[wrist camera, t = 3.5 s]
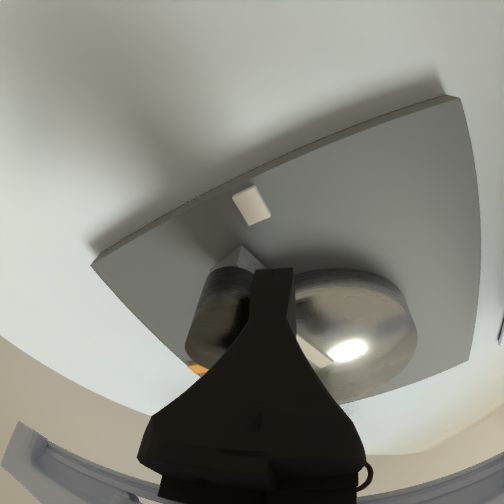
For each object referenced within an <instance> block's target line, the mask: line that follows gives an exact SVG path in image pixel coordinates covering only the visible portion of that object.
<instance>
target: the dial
mask: <svg viewBox="0 0 504 504" xmlns="http://www.w3.org/2000/svg"><path fill="white" fill-rule="evenodd" d="M257 269H267V268H266V267H265V266H264V265H263V264H262V263H261V262H260V261H259V260H258V259H256V258H255V257H254V256H253V255H252V254H251V253H250V252H249V251H248V250H247V249H245V248H244V247H243V246H242V245H241V246H239V247H238V248H237V249H235V250H234V251H233V252H232V253H230V254H229V255H228V256H226V257H225V258H224V259H223V260H221V261H220V262H219V263H217V264H216V265H215V266H214V267H212V268H211V269H210V271H209V274H208V276H207V278H206V281H205V284H204V287H203V290H202V293H201V296H200V299H199V302H198V305H197V308H196V311H195V314H194V317H193V320H192V323H191V326H190V329H189V332H188V336H187V339H186V342H185V351H186V353H187V355H188V356H189V357H190V358H191V359H192V360H193V361H194V362H195V363H197V364H198V365H200V366H202V367H204V368H206V369H210V368H211V367H212V366H213V365H214V364H215V363H216V362H217V361H218V359H219V358H220V357H221V356H222V355H223V354H224V353H225V352H226V350H227V349H228V348H229V347H230V345H231V344H232V343H233V342H234V340H235V339H236V338H237V336H238V335H239V334H240V332H241V331H242V329H243V328H244V326H245V325H246V323H247V322H248V320H249V307H250V294H251V283H252V279H253V276H254V273H255V270H257ZM294 285H295V298H296V322H297V335H296V340H297V342H298V343H299V345H300V347H301V349H302V351H303V353H304V355H305V356H306V358H307V360H308V362H309V363H310V365H311V366H312V368H313V370H314V371H315V373H316V374H317V376H318V377H319V379H320V380H321V382H322V383H323V385H324V386H325V388H326V389H327V390H328V392H329V393H330V394H331V396H332V397H333V398H334V400H335V401H340V400H345V399H349V398H353V397H356V396H359V395H362V394H365V393H368V392H370V391H372V390H374V389H376V388H378V387H380V386H382V385H384V384H385V383H387V382H388V381H390V380H391V379H393V378H394V377H395V376H396V375H398V374H399V373H400V372H401V371H402V370H403V369H404V368H405V367H406V365H407V364H408V363H409V362H410V360H411V358H412V357H413V355H414V353H415V350H416V347H417V342H418V334H417V329H416V326H415V323H414V321H413V318H412V315H411V313H410V310H409V308H408V305H407V303H406V300H405V299H404V297H403V295H402V293H401V292H400V291H399V290H398V289H397V288H396V287H395V286H394V285H393V284H392V283H390V282H389V281H387V280H386V279H384V278H382V277H380V276H377V275H375V274H372V273H369V272H365V271H361V270H354V269H334V268H333V269H322V270H316V271H310V272H305V273H302V274H299V275H295V276H294Z"/></svg>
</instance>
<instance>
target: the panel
mask: <svg viewBox="0 0 504 504" xmlns="http://www.w3.org/2000/svg"><path fill="white" fill-rule="evenodd" d="M241 245H242V246H243V247H244V248H245V249H247V250H248V251H249V252H250V253H251V254H252V255H253V256H254V257H255V258H256V259H258V260H259V261H260V262H261V263H262V264H263V265H264V266H265V267H266V268H267V269H274V270H275V269H276V268H291V267H293V272H294V276H295V275H299V274H302V273H305V272H310V271H316V270H322V269H333V268H334V269H354V270H361V271H365V272H369V273H372V274H375V275H377V276H380V277H382V278H384V279H386V280H387V281H389V282H390V283H392V284H393V285H394V286H395V287H396V288H397V289H398V290H399V291H400V292H401V293H402V295H403V297H404V299H405V300H406V303H407V305H408V308H409V310H410V313H411V315H412V318H413V321H414V323H415V326H416V329H417V334H418V342H417V347H416V350H415V353H414V355H413V357H412V358H411V360H410V362H409V363H408V364H407V365H406V367H405V368H404V369H403V370H402V371H401V372H400V373H399V374H398V375H396V376H395V377H394V378H393V379H391V380H390V381H388V382H387V383H385V384H384V385H382V386H380V387H378V388H376V389H374V390H372V391H370V392H368V393H365V394H362V395H359V396H356V397H353V398H349V399H345V400H340V401H336V402H337V404H338V405H341V404H345V403H349V402H353V401H357V400H361V399H364V398H368V397H372V396H375V395H378V394H382V393H385V392H388V391H391V390H394V389H398V388H401V387H403V386H406V385H409V384H412V383H415V382H418V381H420V380H423V379H426V378H428V377H431V376H433V375H436V374H438V373H441V372H443V371H445V370H448V369H450V368H452V367H455V366H457V365H459V364H461V363H463V362H466V361H468V360H469V355H470V350H471V345H472V340H473V334H474V328H475V321H476V313H477V305H478V295H479V283H480V263H481V227H480V208H479V195H478V186H477V177H476V170H475V163H474V157H473V151H472V146H471V141H470V136H469V131H468V127H467V122H466V118H465V114H464V110H463V107H462V103H461V99H460V98H457V97H453V96H449V95H444V96H441V97H437V98H434V99H431V100H427V101H424V102H421V103H418V104H415V105H412V106H409V107H406V108H403V109H400V110H397V111H394V112H391V113H388V114H385V115H383V116H380V117H377V118H374V119H371V120H369V121H366V122H363V123H361V124H358V125H355V126H353V127H350V128H348V129H345V130H343V131H340V132H338V133H335V134H333V135H330V136H328V137H325V138H323V139H320V140H318V141H316V142H313V143H311V144H309V145H306V146H304V147H302V148H299V149H297V150H295V151H292V152H290V153H288V154H286V155H283V156H281V157H279V158H277V159H275V160H272V161H270V162H268V163H266V164H264V165H262V166H259V167H257V168H255V169H253V170H251V171H249V172H247V173H245V174H243V175H241V176H239V177H236V178H234V179H232V180H230V181H228V182H226V183H224V184H222V185H220V186H218V187H216V188H215V189H213V190H211V191H209V192H207V193H205V194H203V195H201V196H199V197H197V198H195V199H193V200H192V201H190V202H188V203H186V204H184V205H182V206H180V207H179V208H177V209H175V210H173V211H171V212H169V213H168V214H166V215H164V216H162V217H160V218H159V219H157V220H155V221H153V222H152V223H150V224H148V225H146V226H145V227H143V228H141V229H140V230H138V231H136V232H134V233H133V234H131V235H129V236H128V237H126V238H124V239H123V240H121V241H119V242H118V243H116V244H115V245H113V246H111V247H110V248H108V249H106V250H105V251H103V252H102V253H100V254H99V255H98V257H97V258H96V259H95V260H94V262H93V263H92V264H91V265H90V266H91V267H92V268H93V269H94V271H95V272H96V273H97V274H98V275H99V276H100V278H101V279H102V280H103V281H104V282H105V283H106V285H107V286H108V287H109V288H110V289H111V290H112V291H113V292H114V294H115V295H116V296H117V297H118V298H119V299H120V300H121V301H122V302H123V303H124V304H125V306H126V307H127V308H128V309H129V310H130V311H131V312H132V313H133V314H134V315H135V316H136V317H137V318H138V319H139V320H140V321H141V322H142V323H143V324H144V325H145V326H146V327H147V328H148V329H149V330H150V331H151V332H152V333H153V334H154V335H155V336H156V337H157V338H158V339H159V340H160V341H161V342H162V343H163V344H164V345H165V346H166V347H167V348H169V349H170V350H171V351H172V352H173V353H174V354H175V355H176V356H177V357H178V358H179V359H181V360H182V361H183V362H184V363H185V364H186V365H187V367H189V368H190V369H191V370H192V371H193V372H194V373H196V374H198V375H199V376H200V377H202V376H203V375H204V374H205V373H206V372H207V371H208V370H209V369H206V368H204V367H202V366H200V365H198V364H197V363H195V362H194V361H193V360H192V359H191V358H190V357H189V356H188V355H187V353H186V351H185V342H186V339H187V336H188V332H189V329H190V326H191V323H192V320H193V317H194V314H195V311H196V308H197V305H198V302H199V299H200V296H201V293H202V290H203V287H204V284H205V281H206V278H207V276H208V274H209V271H210V269H211V268H212V267H214V266H215V265H216V264H217V263H219V262H220V261H221V260H223V259H224V258H225V257H226V256H228V255H229V254H230V253H232V252H233V251H234V250H235V249H237V248H238V247H239V246H241Z"/></svg>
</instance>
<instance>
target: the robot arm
mask: <svg viewBox="0 0 504 504" xmlns="http://www.w3.org/2000/svg"><path fill="white" fill-rule="evenodd" d="M296 335H297V322H296V298H295V285H294V272H293V267H291V268H276V269H275V270H274V269H257V270H255V273H254V276H253V279H252V283H251V294H250V307H249V320H248V322H247V323H246V325H245V326H244V328H243V329H242V331H241V332H240V334H239V335H238V336H237V338H236V339H235V340H234V342H233V343H232V344H231V345H230V347H229V348H228V349H227V350H226V352H225V353H224V354H223V355H222V356H221V357H220V358H219V359H218V361H217V362H216V363H215V364H214V365H213V366H212V367H211V368H210V369H209V370H208V371H207V372H206V373H205V374H204V375H203V376H202V377H201V378H200V379H199V380H197V381H196V382H195V383H194V384H193V385H192V386H191V387H190V388H189V389H187V390H186V391H185V392H184V393H183V394H181V395H180V396H179V397H178V398H176V399H175V400H174V401H172V402H171V403H170V404H168V405H167V406H165V407H164V408H163V409H161V410H160V411H158V412H157V413H156V414H154V415H153V416H152V417H151V419H150V421H149V424H148V426H147V427H146V430H145V432H144V435H143V439H142V442H141V445H140V448H139V452H138V455H137V458H138V460H139V462H140V463H141V464H143V465H144V466H146V467H148V468H150V469H151V470H153V471H155V472H157V473H159V474H161V475H162V479H161V483H160V485H158V484H155V483H151V482H148V481H144V480H141V479H138V478H134V477H131V476H128V475H126V474H122V473H120V472H117V471H114V470H112V469H109V468H106V467H103V466H101V465H99V464H96V463H94V462H91V461H89V460H87V459H85V458H82V457H80V456H78V455H76V454H74V453H71V452H69V451H67V450H66V449H64V448H62V447H60V446H58V445H56V444H54V443H52V442H50V441H48V440H47V439H46V438H45V437H44V436H42V435H41V434H39V433H38V432H36V431H35V430H33V429H31V428H30V427H28V426H26V425H25V424H23V423H21V422H20V421H19V422H18V423H17V425H16V427H15V429H14V432H13V434H12V436H11V439H10V441H9V444H8V446H7V449H6V451H5V454H4V456H3V459H2V462H1V466H2V467H3V468H4V469H5V470H6V471H8V472H9V473H10V474H11V475H12V476H13V477H14V478H15V479H16V480H18V481H19V482H20V483H21V484H22V485H23V486H24V487H25V488H26V489H27V490H28V491H29V492H30V493H31V494H32V495H33V496H34V497H35V498H36V499H37V500H39V501H40V502H41V503H42V504H142V503H141V502H140V501H139V499H138V497H137V496H140V497H143V498H146V499H149V500H153V501H156V502H160V503H163V504H504V452H502V453H500V454H498V455H496V456H494V457H492V458H490V459H488V460H485V461H483V462H481V463H479V464H476V465H474V466H472V467H469V468H467V469H464V470H462V471H459V472H456V473H454V474H451V475H448V476H445V477H442V478H439V479H436V480H433V481H430V482H426V483H423V484H419V485H415V486H412V487H408V488H404V489H399V490H395V491H390V492H386V493H380V494H375V495H368V496H362V497H357V486H358V472H359V471H360V470H361V469H362V467H364V466H365V464H366V455H365V451H364V447H363V444H362V442H361V439H360V437H359V435H358V432H357V430H356V428H355V426H354V424H353V422H352V420H351V419H350V418H349V417H348V416H347V415H346V413H345V412H344V411H343V410H342V409H341V407H340V406H339V405H338V404H337V402H336V401H335V400H334V398H333V397H332V396H331V394H330V393H329V392H328V390H327V389H326V388H325V386H324V385H323V383H322V382H321V380H320V379H319V377H318V376H317V374H316V373H315V371H314V370H313V368H312V366H311V365H310V363H309V362H308V360H307V358H306V356H305V355H304V353H303V351H302V349H301V347H300V345H299V343H298V342H297V340H296ZM498 344H499V346H503V345H504V324H503V327H502V331H501V335H500V338H499V341H498ZM136 495H137V496H136Z"/></svg>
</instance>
